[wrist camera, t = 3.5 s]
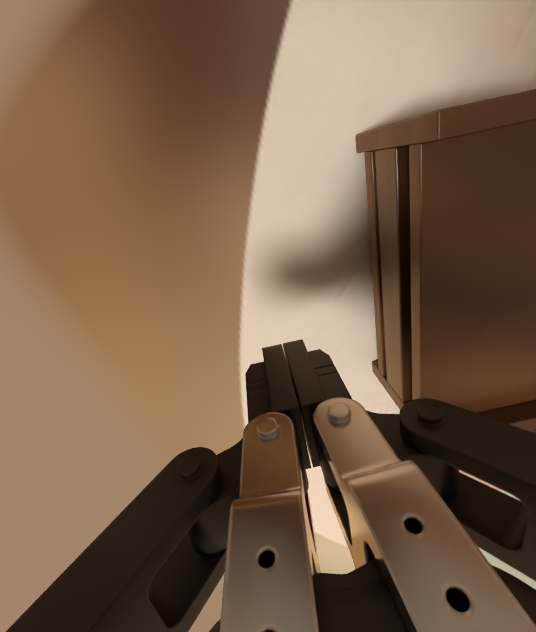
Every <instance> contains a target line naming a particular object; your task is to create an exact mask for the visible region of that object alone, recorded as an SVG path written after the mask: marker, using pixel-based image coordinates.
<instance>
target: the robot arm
mask: <svg viewBox="0 0 536 632" xmlns="http://www.w3.org/2000/svg"><path fill="white" fill-rule="evenodd" d="M283 348H284V352H283ZM283 348H282V345H281V344H279V345H275V346H270V347H266V348H262V351H263V357H264V362H260V363H256V364H251V365H250V367H249V369H248V370H247V372H246V390H247V406H248V424H247V426H246V427H245V429H244V432H243V438H242V439H241V440H240V441H239V442H238V443H237V444H236V445H234V446H233V447H231V448H230V449H228V450H225V451H224V452H222V453H220V454H218V455H216V454H215V453H214V452H213V451H212V450H210V449H208V448H203V447H197V448H192V449H189V450H187V451H184V452H182V453H180V454H179V455H177V456H176V457H175V458H174V459H173V460H172V461H171V462H170V463H169V464H168V465H167V466H166V467H165V468H164V469H163V470H162V471H161V472H160V473H159V474H158V475H157V476H156V477H155V478H154V479H153V480H152V481H151V482H150V483H149V484H148V485H147V486H146V487H145V488H144V489H143V491H142V492H141V493H140V494H139V495H138V496H137V497H136V498H135V499H134V500H133V501H132V502H131V503H130V504H129V505H128V506H127V507H126V508H125V509H124V510H123V511H122V512H121V513H120V514H119V515H118V516H117V517H116V518H115V520H113V521H112V523H111V524H110V525H109V526H108V527H107V528H106V529H105V530H104V531H103V532H102V533H101V534H100V535H99V536H98V537H97V538H96V539H95V540H94V541H93V542H92V543H91V544H90V545H89V546H88V547H87V548H86V549H85V550H84V551H83V553H81V555H80V556H79V557H78V558H77V559H76V560H75V561H74V562H73V563H72V564H71V565H70V566H69V567H68V568H67V569H66V570H65V571H64V572H63V573H62V574H61V575H60V576H59V577H58V578H57V579H56V580H55V581H54V582H53V583H52V584H51V586H50V587H49V588H48V589H47V590H46V591H45V592H44V593H43V594H42V595H41V596H40V597H39V598H38V599H37V600H36V601H35V602H34V603H33V604H32V605H31V606H30V607H29V608H28V609H27V610H26V611H25V612H24V613H23V614H22V615H21V616H20V618H19V619H18V620H17V621H16V622H15V623H14V624H13V625H12V626H11V627H10V628H9V629H8V630H7V631H6V632H188V631H189V629H190V628H191V626H192V625H193V623H194V621H195V620H196V618H197V616H198V615H199V613H200V612H201V610H202V608H203V607H204V605H205V603H206V602H207V600H208V598H209V597H210V595H211V594H212V592H213V590H214V589H215V587H216V585H217V584H218V582H219V581H220V579H221V577H222V576H223V574H224V573H225V575H224V587H223V598H222V610H221V619H220V620H219V621H218V622H217V623H216V624H215V625H214V626H213V627H212V629H211V630H210V631H209V632H536V589H534V588H532V587H531V586H529V585H528V584H526V583H525V582H523V581H521V580H520V579H518V578H517V577H515V576H513V575H511V574H509V573H507V572H505V571H503V570H502V569H500V568H497V567H495V566H493V565H491V564H490V563H489V562H488V560H487V559H486V557H485V556H484V555H483V553H482V552H481V551H480V549H479V548H481V549H482V550H484V551H486V552H487V553H489V554H491V555H492V556H494V557H496V558H497V559H499V560H501V561H502V562H504V563H506V564H507V565H509V566H511V567H512V568H514V569H516V570H517V571H519V572H521V573H522V574H524V575H526V576H527V577H529V578H531V579H532V580H534V581H536V433H533V432H530V431H527V430H524V429H521V428H518V427H515V426H513V425H510V424H507V423H504V422H501V421H498V420H495V419H492V418H489V417H486V416H483V415H481V414H478V413H475V412H472V411H469V410H466V409H463V408H460V407H457V406H454V405H451V404H449V403H446V402H443V401H440V400H436V399H430V398H419V399H414V400H411V401H409V402H407V403H405V404H404V405H403V406H402V408H401V410H400V414H378V413H372V412H369V411H366V410H365V409H364V407H363V406H362V405H361V404H360V403H358V402H357V401H355V400H352V398H351V396H350V394H349V392H348V390H347V388H346V386H345V385H344V383H343V381H342V379H341V377H340V375H339V373H338V372H337V370H336V368H335V366H334V364H333V362H332V360H331V358H330V356H329V355H328V354H326V353H324V352H323V351H321V350H320V349H319V350H314V351H310V352H307V349H306V347H305V345H304V342H303V340H297V341H292V342H288V343H283ZM284 353H285V355H284ZM285 358H286V359H285ZM306 442H307V445H306ZM307 446H308V450H309V453H310V457H311V461H312V464H313V467H317V466H321V468H322V472H323V475H324V480H325V485H326V490H327V493H328V496H329V498H330V501H331V504H332V506H333V509H334V511H335V514H336V516H337V519H338V522H339V524H340V527H341V529H342V532H343V535H344V537H345V540H346V542H347V545H348V548H349V550H350V553H351V555H352V559H353V562H354V565H355V570H354V571H352V572H350V573H348V574H328V573H320V567H319V561H318V555H317V547H316V541H315V534H314V527H313V521H312V514H311V508H310V501H309V495H308V485H309V484H308V478H307V474H306V469H308V468H311V465H310V460H309V455H308V450H307ZM459 470H461V471H463V472H465V473H467V474H469V475H472V476H474V477H476V478H478V479H480V480H482V481H484V482H487V483H489V484H491V485H493V486H495V487H497V488H499V489H501V490H504V491H506V492H508V493H510V494H512V495H513V496H515V497H516V498H518V499H519V500H517V499H515V498H513V497H511V496H509V495H507V494H504V493H502V492H500V491H498V490H496V489H494V488H492V487H490V486H488V485H485V484H483V483H481V482H479V481H477V480H475V479H473V478H471V477H469V476H466V475H464V474H462V473H460V472H459ZM478 547H479V548H478Z"/></svg>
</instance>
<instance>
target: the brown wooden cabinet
mask: <svg viewBox="0 0 536 632" xmlns="http://www.w3.org/2000/svg"><path fill="white" fill-rule="evenodd" d="M356 149H357V153H361V152H365V166H366V181H367V197H368V212H369V228H370V243H371V259H372V275H373V290H374V306H375V321H376V337H377V352H378V361H373V362H372V367H373V372H374V374H375V375H376V377H377V378H378V379H379V381H380V382H381V384H382V385H383V386H384V388H385V389H386V391H387V392H388V393H389V395H390V396H391V398H392V399H393V400H394V402H395V403H396V405H397V406H398V407H399V409H400V410H401V408H402V406H403V405H404V404H405V403H407V402H409V401H411V400H414V399H419V398H430V399H436V400H440V401H443V402H446V403H449V404H451V405H454V406H457V407H460V408H463V409H466V410H469V411H472V412H475V413H478V414H481V415H483V416H486V417H489V418H492V419H495V420H498V421H501V422H504V423H507V424H510V425H513V426H515V427H518V428H521V429H524V430H527V431H534V430H536V89H534V90H529V91H525V92H520V93H515V94H511V95H506V96H501V97H497V98H492V99H488V100H483V101H478V102H474V103H469V104H464V105H460V106H455V107H450V108H446V109H441V110H437V111H434V112H431V113H427V114H424V115H421V116H417V117H414V118H411V119H407V120H404V121H401V122H397V123H394V124H391V125H388V126H384V127H381V128H378V129H374V130H371V131H368V132H364V133H361V134H358V135H356Z"/></svg>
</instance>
